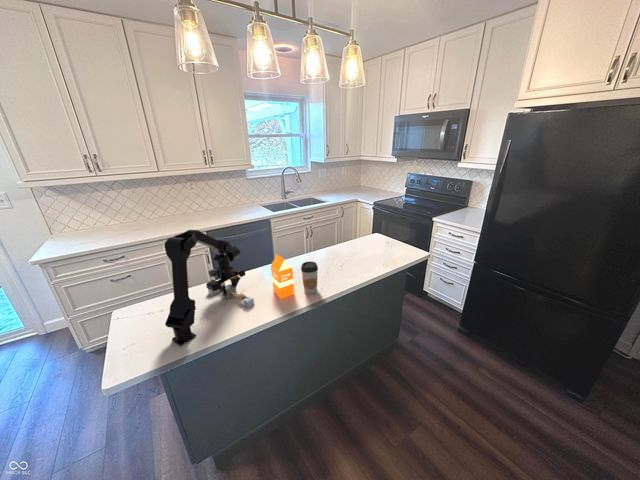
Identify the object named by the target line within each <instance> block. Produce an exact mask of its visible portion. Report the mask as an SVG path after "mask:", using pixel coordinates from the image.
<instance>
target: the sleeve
mask: <svg viewBox="0 0 640 480" xmlns="http://www.w3.org/2000/svg"><path fill="white" fill-rule="evenodd" d="M225 286H226V297H225V298H226V299H231V298H232V297H234V296H235V295H234V294H231V293H230V292H231V291H233V292H235V293H237V294H238V292H237V287H235V286H233V285H231V283H229V284H225ZM221 296H222V297H224V296H223V294H222V293H221Z"/></svg>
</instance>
